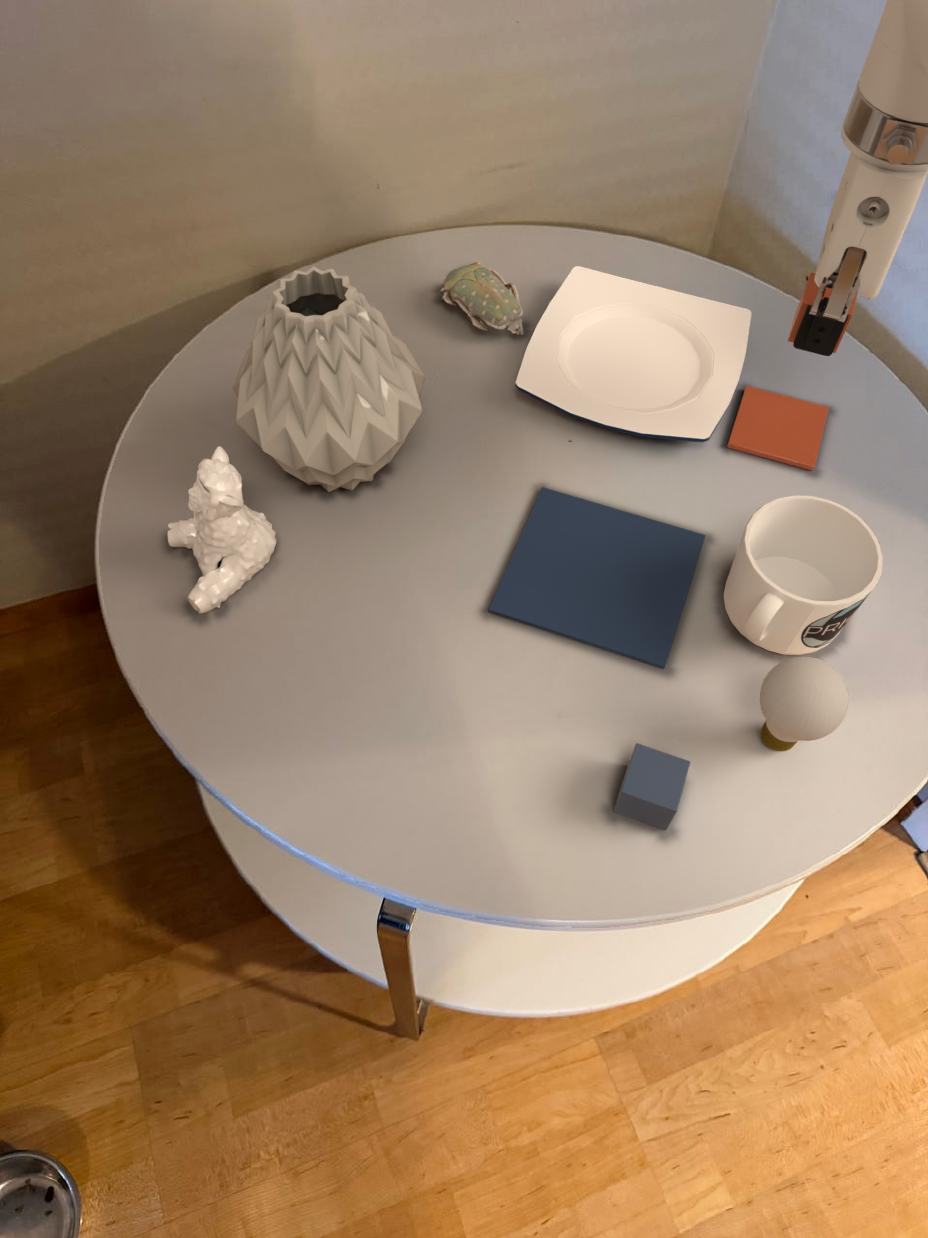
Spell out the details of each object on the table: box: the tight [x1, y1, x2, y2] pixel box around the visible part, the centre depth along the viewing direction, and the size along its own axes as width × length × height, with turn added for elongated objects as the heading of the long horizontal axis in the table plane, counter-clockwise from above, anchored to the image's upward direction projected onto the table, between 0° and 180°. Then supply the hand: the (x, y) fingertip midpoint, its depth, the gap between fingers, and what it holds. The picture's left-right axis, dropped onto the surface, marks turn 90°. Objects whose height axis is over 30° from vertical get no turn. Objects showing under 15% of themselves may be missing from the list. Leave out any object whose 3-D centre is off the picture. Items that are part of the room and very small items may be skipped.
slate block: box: [613, 743, 691, 831], centre depth 68 cm, size 4×4×4 cm
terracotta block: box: [787, 272, 860, 354], centre depth 78 cm, size 4×4×4 cm
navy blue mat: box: [488, 486, 706, 669], centre depth 80 cm, size 15×14×1 cm
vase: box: [232, 265, 426, 493], centre depth 79 cm, size 16×16×18 cm
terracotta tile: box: [726, 385, 830, 471], centre depth 89 cm, size 8×8×1 cm
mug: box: [723, 495, 884, 656], centre depth 75 cm, size 13×10×8 cm
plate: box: [514, 265, 753, 443], centre depth 92 cm, size 20×20×3 cm
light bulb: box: [759, 656, 850, 752], centre depth 68 cm, size 6×6×10 cm
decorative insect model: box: [439, 261, 525, 336], centre depth 97 cm, size 9×11×5 cm
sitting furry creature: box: [167, 446, 277, 615], centre depth 76 cm, size 10×9×12 cm
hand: (817, 329), depth 79 cm, fingers closed on terracotta block, 4 cm apart
